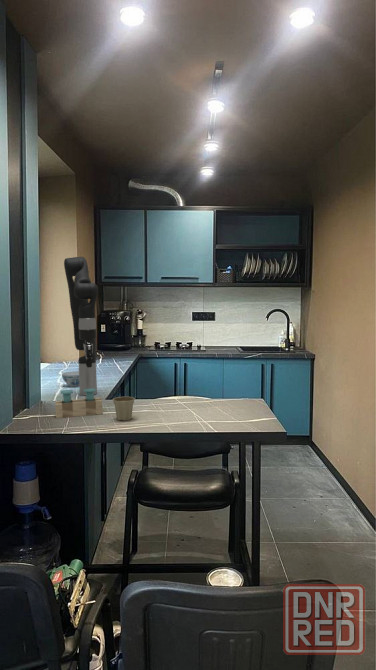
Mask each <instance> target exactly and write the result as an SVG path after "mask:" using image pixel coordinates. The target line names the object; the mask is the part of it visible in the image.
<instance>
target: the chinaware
mask: <svg viewBox="0 0 376 670" xmlns="http://www.w3.org/2000/svg"><path fill="white" fill-rule="evenodd" d="M61 377H62V380H63V381H64V382H65V383H66V384H67V385H68V386H69V388H78V386H79V370H76V371H67V372H62V373H61ZM79 387H80V386H79Z"/></svg>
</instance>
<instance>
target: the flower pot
mask: <svg viewBox="0 0 376 670" xmlns="http://www.w3.org/2000/svg"><path fill="white" fill-rule="evenodd" d="M135 400H136V398H135V397H132V396H119V397H114V398H112V402H113V405H114V410H115V416H116V420H118V421H129V420H131V419H132V417H133V409H134V408H133V407H134V403H135Z"/></svg>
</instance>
